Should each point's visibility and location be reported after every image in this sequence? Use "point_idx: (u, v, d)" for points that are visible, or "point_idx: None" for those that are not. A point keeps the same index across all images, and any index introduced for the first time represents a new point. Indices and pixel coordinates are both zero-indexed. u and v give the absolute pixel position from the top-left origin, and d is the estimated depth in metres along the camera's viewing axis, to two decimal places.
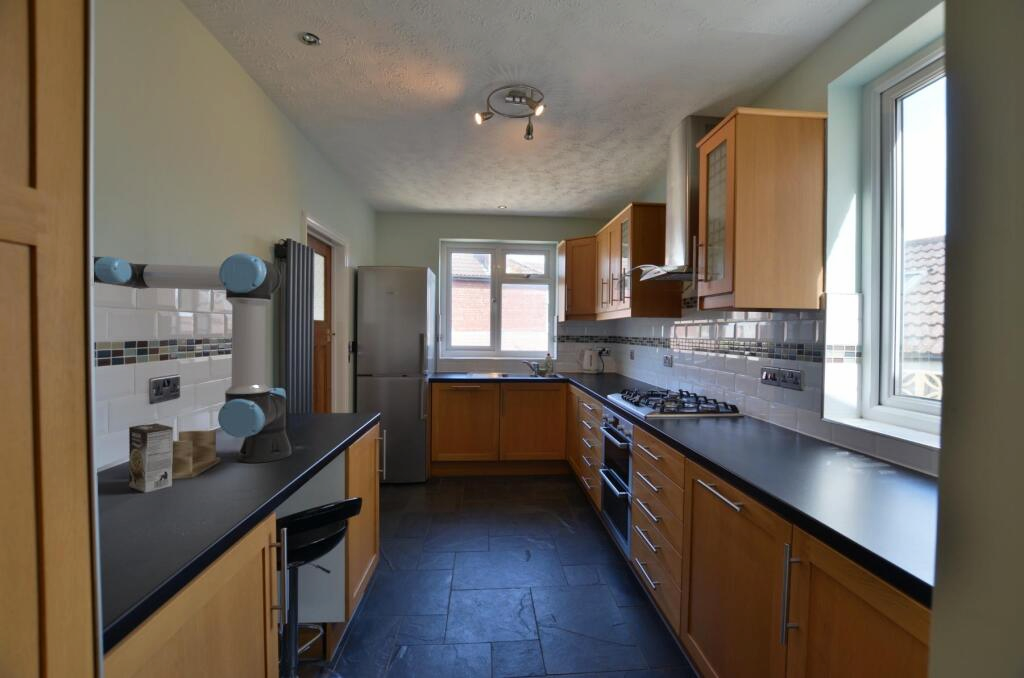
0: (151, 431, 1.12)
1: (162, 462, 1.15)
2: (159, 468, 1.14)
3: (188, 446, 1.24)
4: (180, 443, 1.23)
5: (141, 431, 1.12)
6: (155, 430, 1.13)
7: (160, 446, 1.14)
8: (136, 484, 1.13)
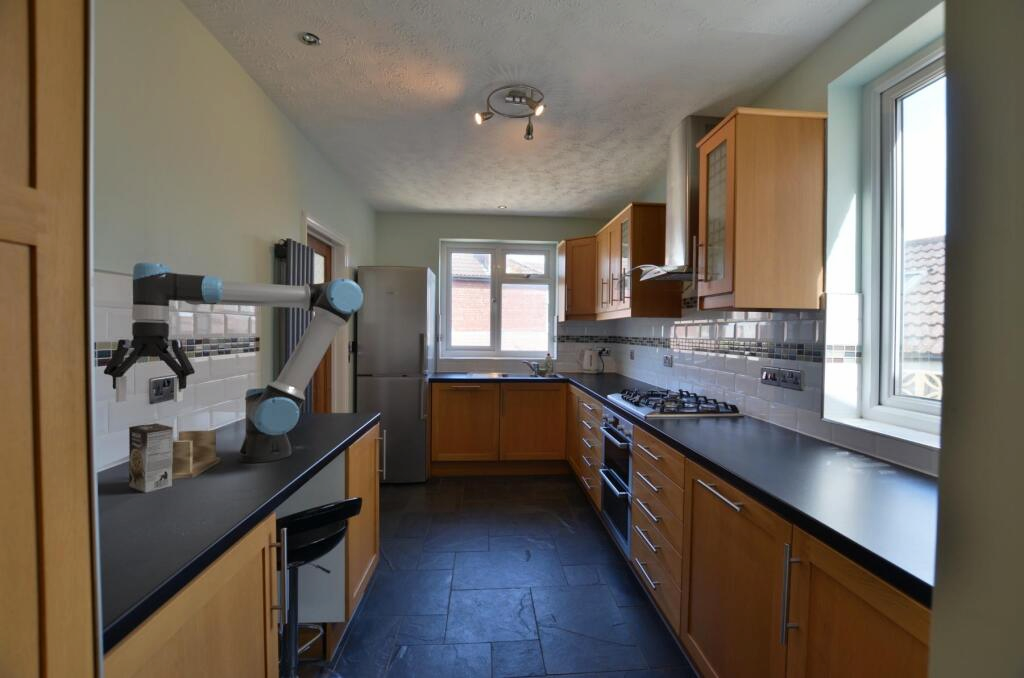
0: (151, 431, 1.12)
1: (162, 462, 1.15)
2: (159, 468, 1.14)
3: (188, 446, 1.24)
4: (180, 443, 1.23)
5: (141, 431, 1.12)
6: (155, 430, 1.13)
7: (160, 446, 1.14)
8: (136, 484, 1.13)
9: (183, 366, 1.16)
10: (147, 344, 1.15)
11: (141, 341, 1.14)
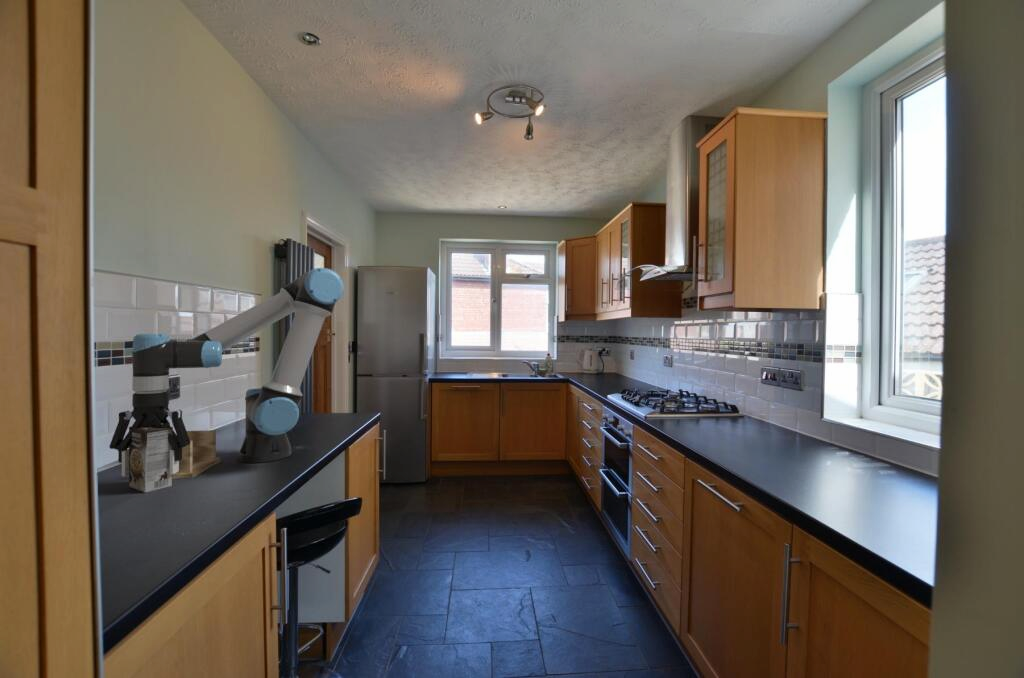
0: (151, 431, 1.12)
1: (162, 462, 1.15)
2: (158, 467, 1.14)
3: (188, 446, 1.24)
4: None
5: (141, 431, 1.12)
6: (155, 430, 1.13)
7: (160, 446, 1.14)
8: (136, 484, 1.13)
9: (180, 438, 1.16)
10: (147, 414, 1.15)
11: (141, 411, 1.15)
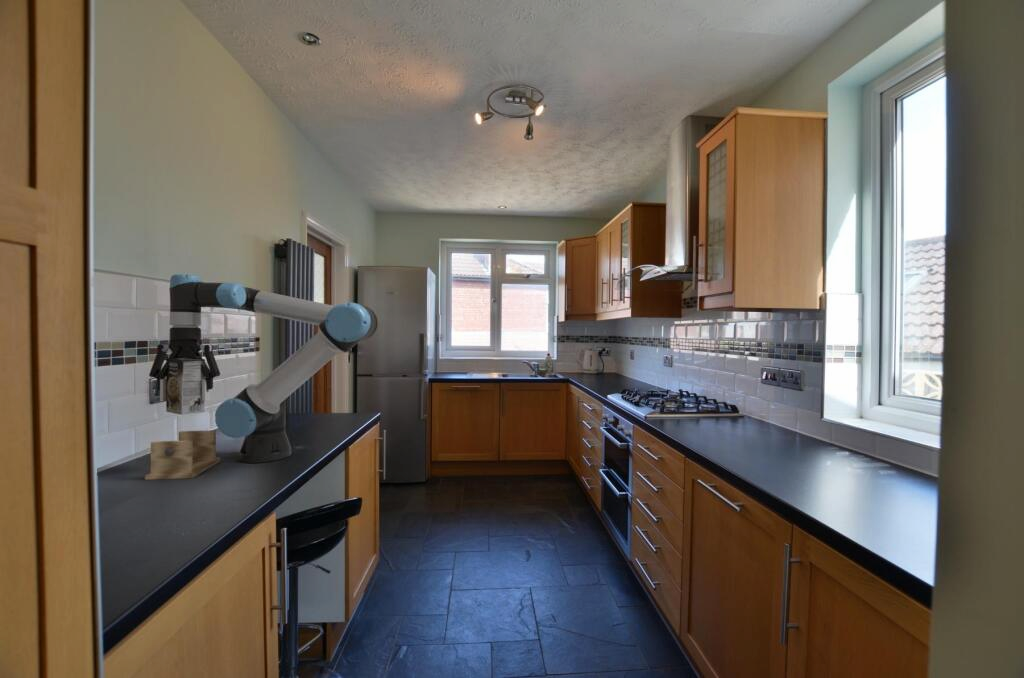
0: (186, 360, 1.26)
1: (195, 389, 1.28)
2: (193, 394, 1.28)
3: (188, 446, 1.24)
4: (180, 443, 1.23)
5: (178, 360, 1.26)
6: (190, 360, 1.27)
7: (194, 374, 1.28)
8: (173, 408, 1.27)
9: (211, 368, 1.30)
10: (183, 347, 1.29)
11: (177, 343, 1.28)
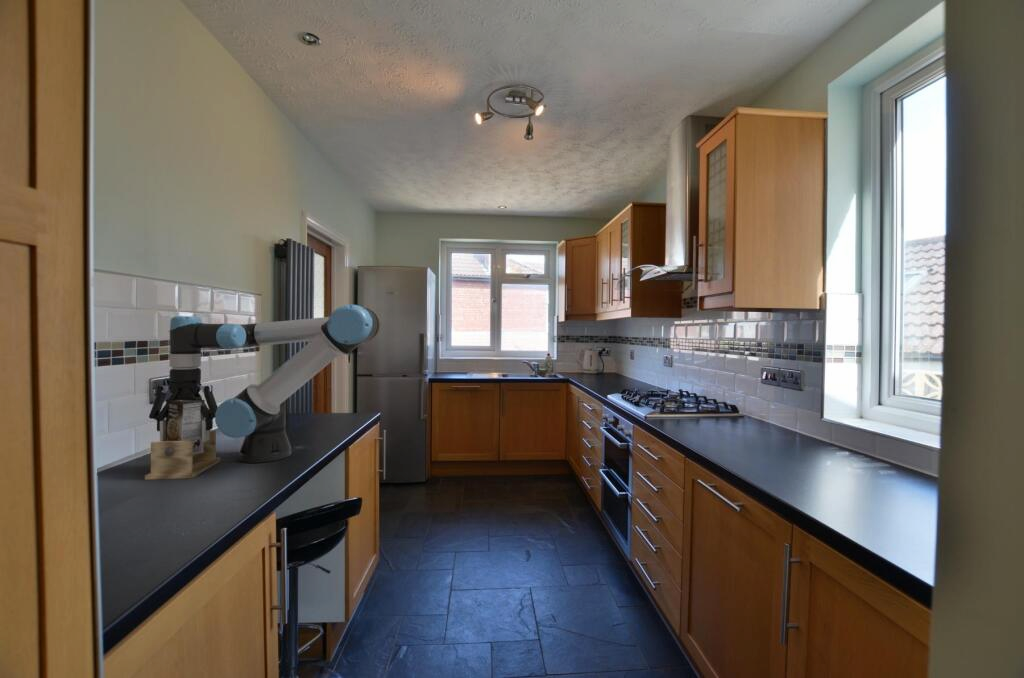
0: (186, 402, 1.26)
1: (195, 431, 1.29)
2: (192, 435, 1.28)
3: (188, 446, 1.24)
4: (180, 443, 1.23)
5: (177, 402, 1.26)
6: (190, 402, 1.27)
7: (194, 416, 1.28)
8: None
9: (211, 410, 1.30)
10: (182, 388, 1.29)
11: (177, 385, 1.28)
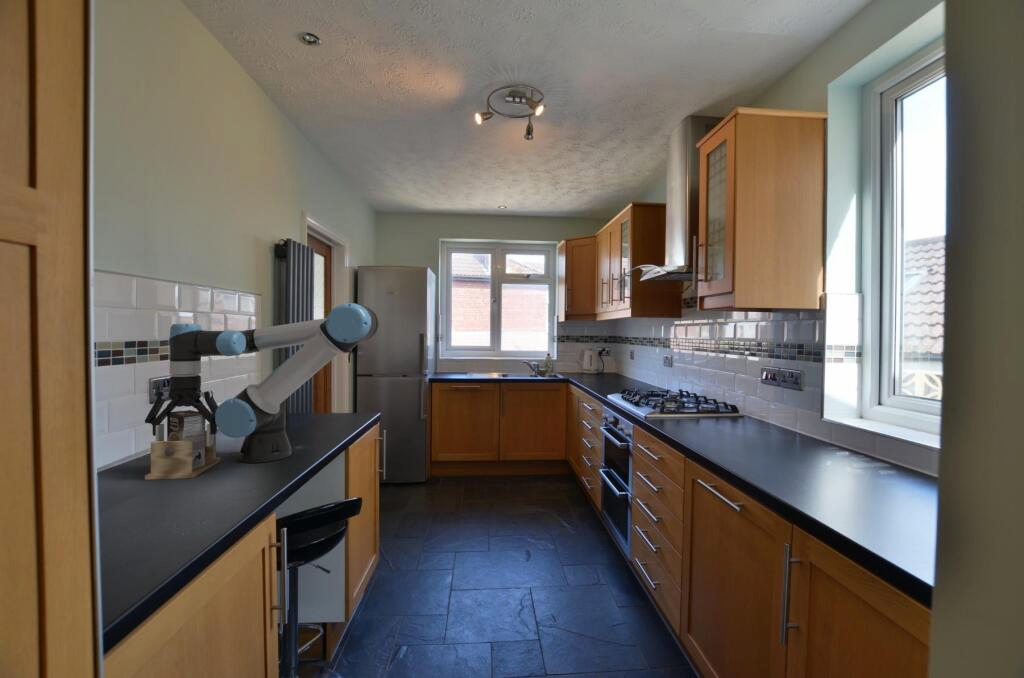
0: (187, 416, 1.26)
1: (196, 444, 1.29)
2: (193, 449, 1.28)
3: (188, 446, 1.24)
4: (180, 443, 1.23)
5: (178, 416, 1.26)
6: (190, 415, 1.27)
7: (195, 429, 1.28)
8: None
9: (214, 414, 1.30)
10: (182, 395, 1.29)
11: (177, 393, 1.29)
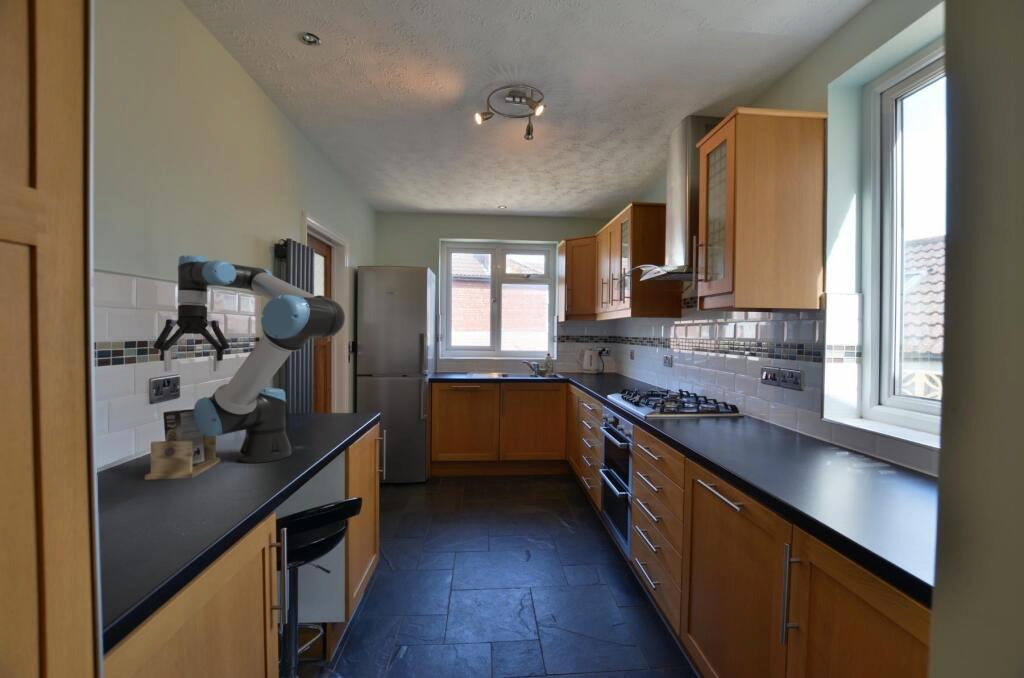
0: (183, 411, 1.27)
1: (194, 439, 1.29)
2: None
3: (188, 446, 1.24)
4: (180, 443, 1.23)
5: (174, 412, 1.27)
6: (186, 410, 1.28)
7: (192, 425, 1.29)
8: None
9: (221, 342, 1.40)
10: (190, 323, 1.37)
11: (185, 321, 1.37)
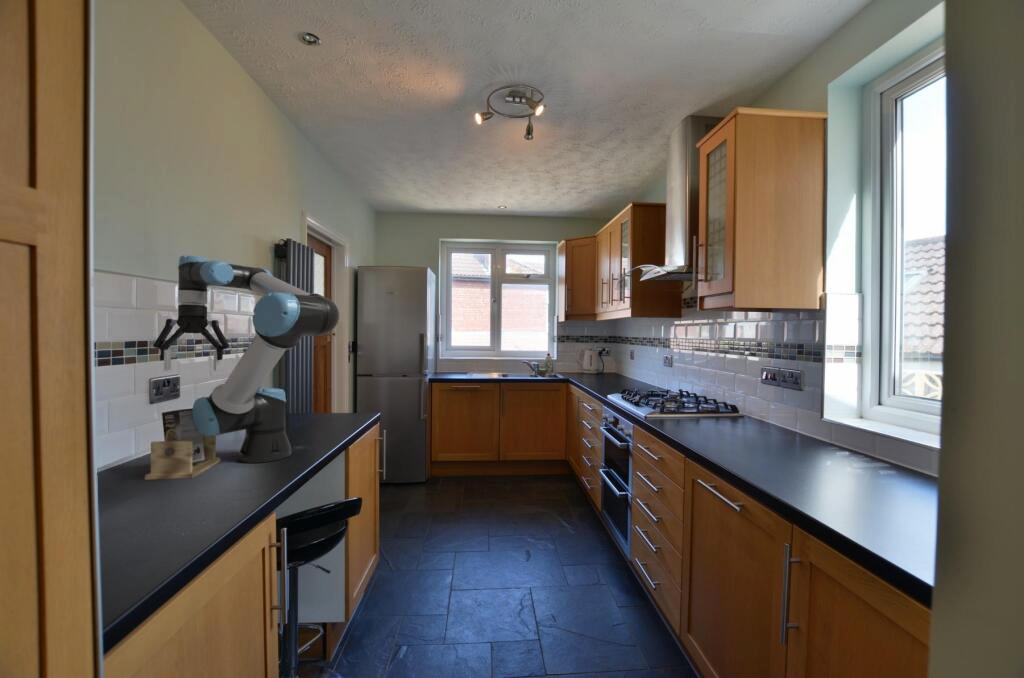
0: (182, 410, 1.28)
1: (194, 438, 1.29)
2: None
3: (188, 446, 1.24)
4: (180, 443, 1.23)
5: (173, 411, 1.28)
6: (185, 409, 1.29)
7: (191, 424, 1.29)
8: None
9: (221, 341, 1.41)
10: (190, 323, 1.39)
11: (185, 320, 1.39)
